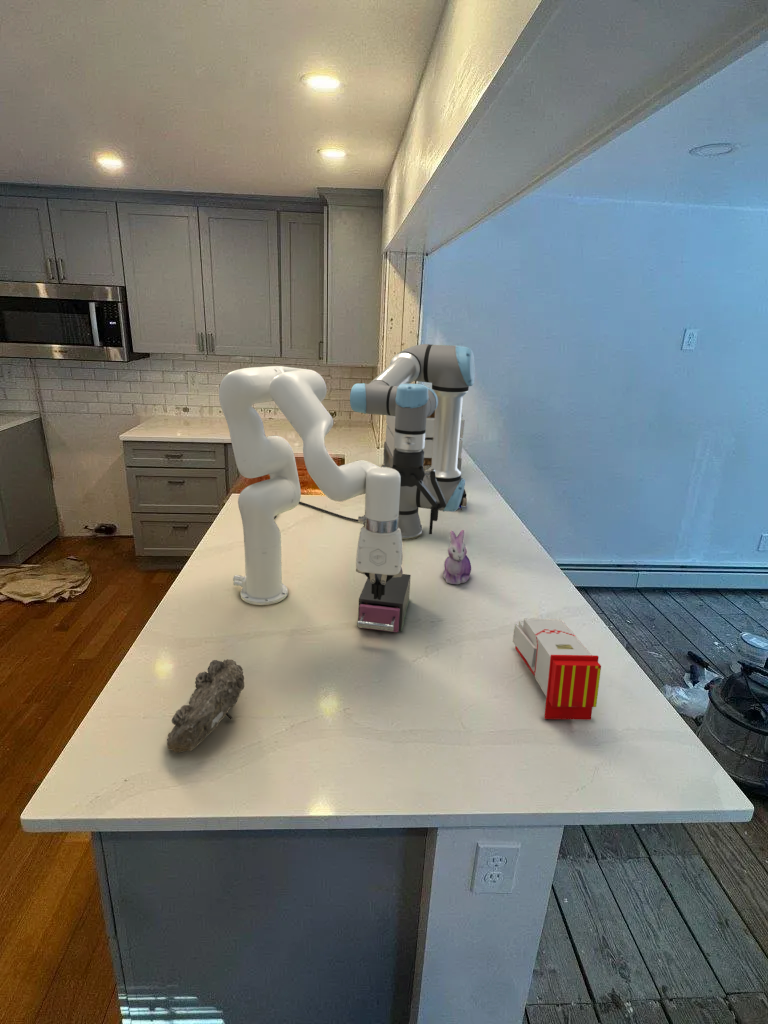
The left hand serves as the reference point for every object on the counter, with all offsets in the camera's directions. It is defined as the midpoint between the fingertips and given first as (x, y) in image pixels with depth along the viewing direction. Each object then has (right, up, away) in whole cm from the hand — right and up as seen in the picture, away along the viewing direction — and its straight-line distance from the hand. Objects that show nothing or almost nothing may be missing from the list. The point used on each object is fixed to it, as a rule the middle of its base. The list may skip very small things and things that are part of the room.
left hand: (378, 596), depth 132 cm
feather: (-39, +18, +80) cm, 91 cm away
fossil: (-31, -19, -24) cm, 44 cm away
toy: (+37, -17, -8) cm, 41 cm away
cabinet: (+2, -7, +16) cm, 17 cm away
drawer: (+1, -7, +11) cm, 13 cm away
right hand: (+7, +15, +13) cm, 21 cm away
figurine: (+23, 0, +36) cm, 43 cm away
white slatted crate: (+19, +39, +143) cm, 149 cm away
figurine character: (+31, +22, +99) cm, 106 cm away
